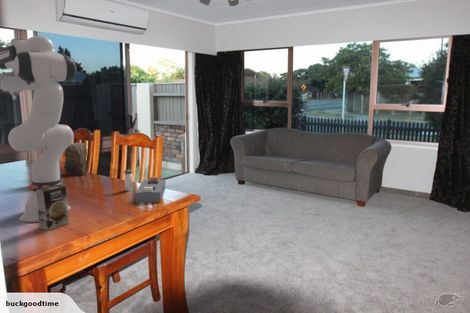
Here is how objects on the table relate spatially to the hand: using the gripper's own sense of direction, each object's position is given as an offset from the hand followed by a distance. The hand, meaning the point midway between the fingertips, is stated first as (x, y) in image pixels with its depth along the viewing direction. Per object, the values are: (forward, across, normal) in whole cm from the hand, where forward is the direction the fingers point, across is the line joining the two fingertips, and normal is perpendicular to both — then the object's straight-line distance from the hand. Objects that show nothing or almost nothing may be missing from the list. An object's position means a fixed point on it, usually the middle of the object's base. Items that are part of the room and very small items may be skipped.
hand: (24, 98), depth 183 cm
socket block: (+39, +39, -61) cm, 82 cm away
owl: (+55, +30, +10) cm, 63 cm away
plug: (+42, +35, -45) cm, 71 cm away
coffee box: (+34, -12, -70) cm, 78 cm away
